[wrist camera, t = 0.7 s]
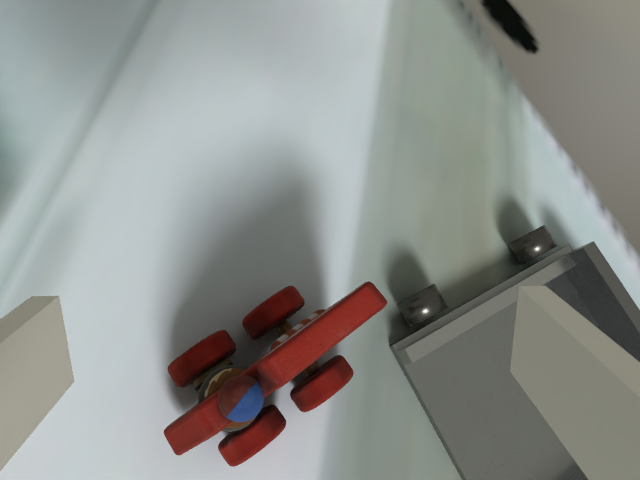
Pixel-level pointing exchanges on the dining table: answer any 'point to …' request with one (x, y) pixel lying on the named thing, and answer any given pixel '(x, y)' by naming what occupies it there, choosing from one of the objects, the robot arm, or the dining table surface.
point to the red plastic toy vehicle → (265, 372)
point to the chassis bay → (505, 361)
